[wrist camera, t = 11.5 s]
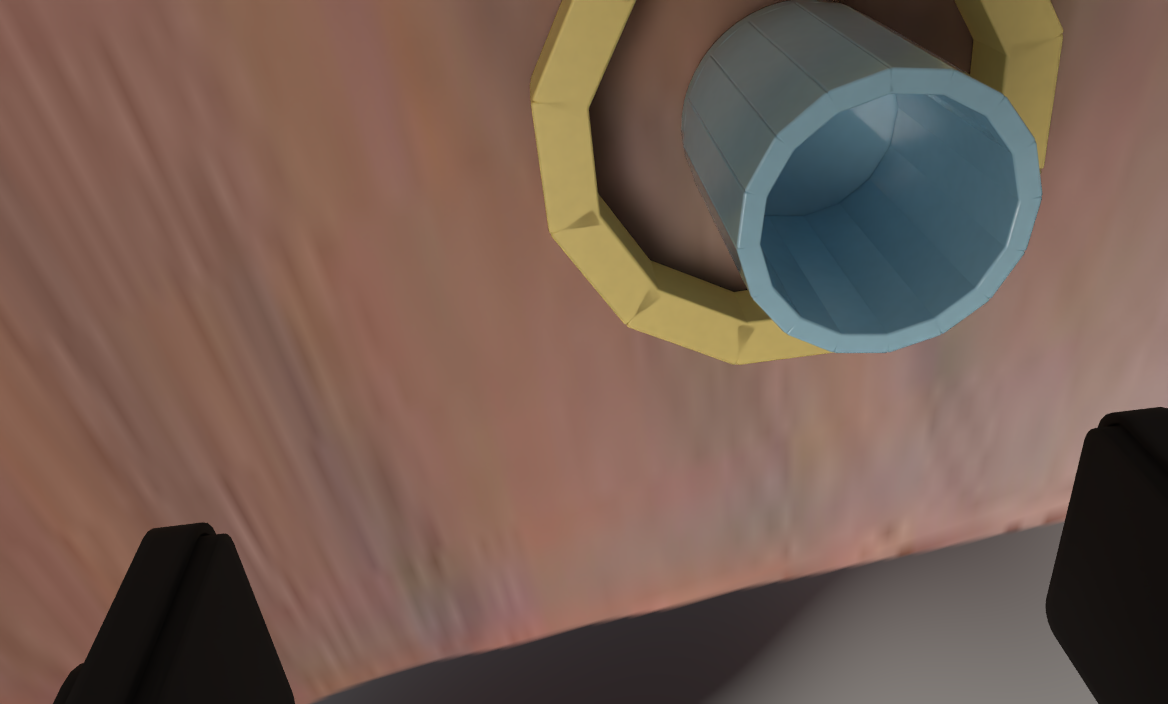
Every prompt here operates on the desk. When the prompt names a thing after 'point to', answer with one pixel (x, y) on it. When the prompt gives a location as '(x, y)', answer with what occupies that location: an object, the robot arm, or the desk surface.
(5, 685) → the desk surface
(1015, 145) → the cup
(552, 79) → the ring
